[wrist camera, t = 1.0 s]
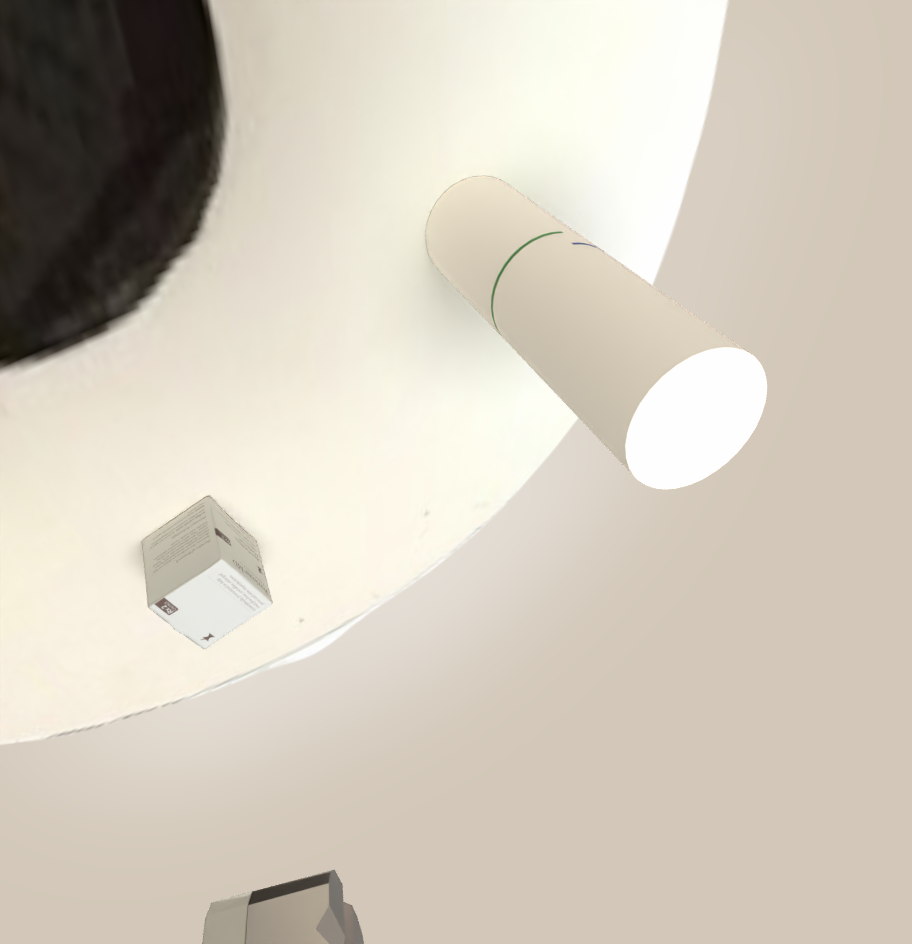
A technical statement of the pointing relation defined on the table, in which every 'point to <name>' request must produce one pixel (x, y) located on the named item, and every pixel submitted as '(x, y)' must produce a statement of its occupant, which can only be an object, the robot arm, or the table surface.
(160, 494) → the table surface
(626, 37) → the table surface
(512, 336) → the cylindrical container
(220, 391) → the table surface
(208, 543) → the skincare box
